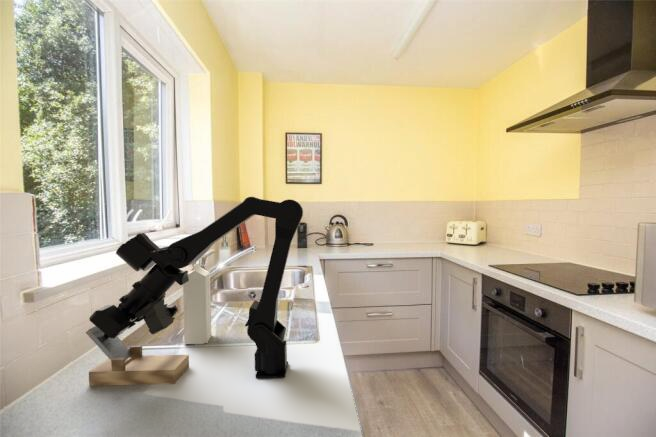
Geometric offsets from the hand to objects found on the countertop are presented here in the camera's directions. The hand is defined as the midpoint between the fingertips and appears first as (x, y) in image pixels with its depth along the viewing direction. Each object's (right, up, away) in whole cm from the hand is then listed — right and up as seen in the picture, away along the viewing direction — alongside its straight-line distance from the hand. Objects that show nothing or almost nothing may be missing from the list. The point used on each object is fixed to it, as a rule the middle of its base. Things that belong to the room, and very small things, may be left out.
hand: (106, 336), depth 69 cm
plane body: (+8, -9, 0) cm, 12 cm away
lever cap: (+5, -6, 0) cm, 8 cm away
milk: (+12, -9, +19) cm, 25 cm away
